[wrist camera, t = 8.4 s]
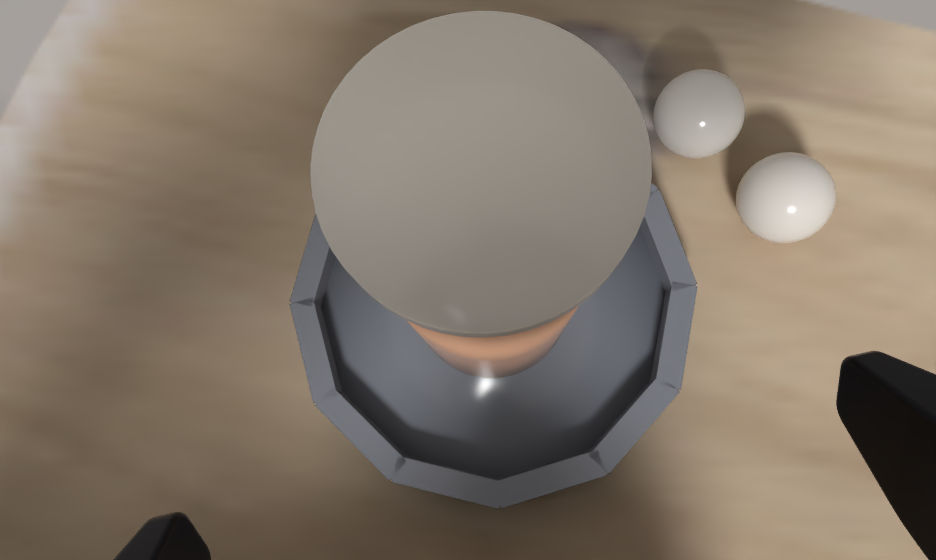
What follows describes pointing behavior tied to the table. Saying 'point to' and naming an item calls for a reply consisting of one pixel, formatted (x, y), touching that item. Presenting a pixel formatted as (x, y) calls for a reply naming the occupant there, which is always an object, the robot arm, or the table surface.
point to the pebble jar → (482, 182)
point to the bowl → (507, 398)
